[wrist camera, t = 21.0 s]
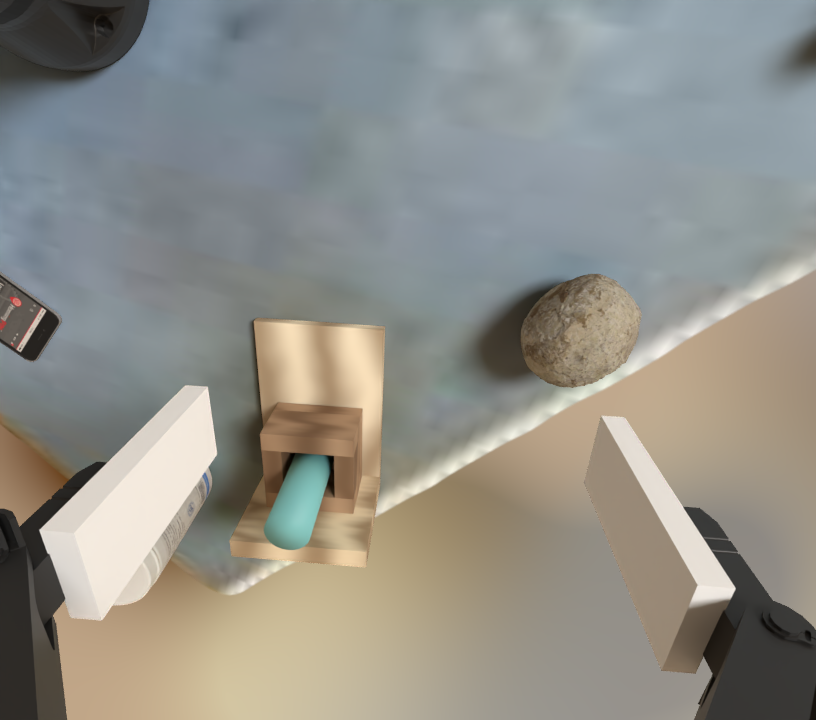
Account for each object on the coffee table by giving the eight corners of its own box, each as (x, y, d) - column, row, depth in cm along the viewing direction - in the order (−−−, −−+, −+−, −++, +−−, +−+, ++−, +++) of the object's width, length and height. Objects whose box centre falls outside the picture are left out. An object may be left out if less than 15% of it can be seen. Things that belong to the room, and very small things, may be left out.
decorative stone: (548, 374, 50) (572, 428, 41) (496, 316, 48) (509, 359, 39) (636, 311, 47) (683, 354, 38) (585, 246, 44) (621, 275, 35)
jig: (270, 476, 58) (231, 555, 47) (257, 317, 49) (205, 369, 38) (380, 485, 57) (366, 567, 47) (385, 326, 49) (369, 381, 38)
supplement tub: (120, 466, 59) (26, 564, 45) (167, 424, 56) (82, 515, 42) (184, 515, 61) (113, 621, 48) (232, 478, 58) (171, 580, 45)
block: (283, 470, 56) (266, 506, 50) (278, 402, 52) (259, 433, 47) (361, 476, 56) (353, 513, 50) (362, 408, 52) (353, 440, 46)
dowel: (298, 431, 52) (262, 512, 41) (336, 435, 52) (309, 517, 41) (300, 462, 53) (265, 547, 43) (336, 465, 53) (310, 552, 42)
